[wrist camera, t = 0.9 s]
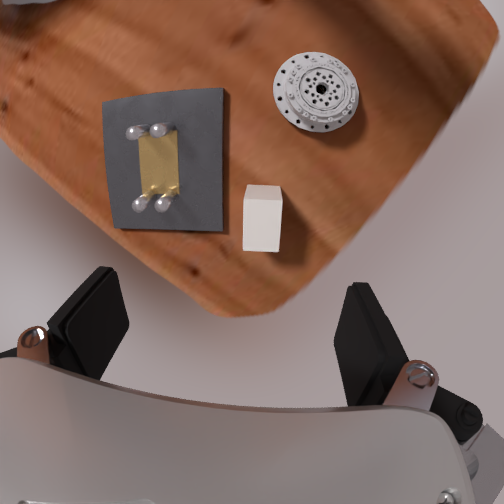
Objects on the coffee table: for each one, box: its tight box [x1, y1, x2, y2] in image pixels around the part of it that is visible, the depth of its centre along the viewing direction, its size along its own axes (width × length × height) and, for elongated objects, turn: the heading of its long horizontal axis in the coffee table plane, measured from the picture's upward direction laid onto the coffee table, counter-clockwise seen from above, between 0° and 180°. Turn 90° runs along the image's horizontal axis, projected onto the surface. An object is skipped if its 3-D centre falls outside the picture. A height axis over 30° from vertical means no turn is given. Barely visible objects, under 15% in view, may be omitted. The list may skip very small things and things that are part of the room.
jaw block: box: [243, 185, 283, 252], centre depth 32 cm, size 6×4×6 cm, turn 178°
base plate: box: [102, 88, 224, 231], centre depth 30 cm, size 18×16×5 cm
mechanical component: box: [273, 52, 359, 132], centre depth 25 cm, size 10×4×10 cm
